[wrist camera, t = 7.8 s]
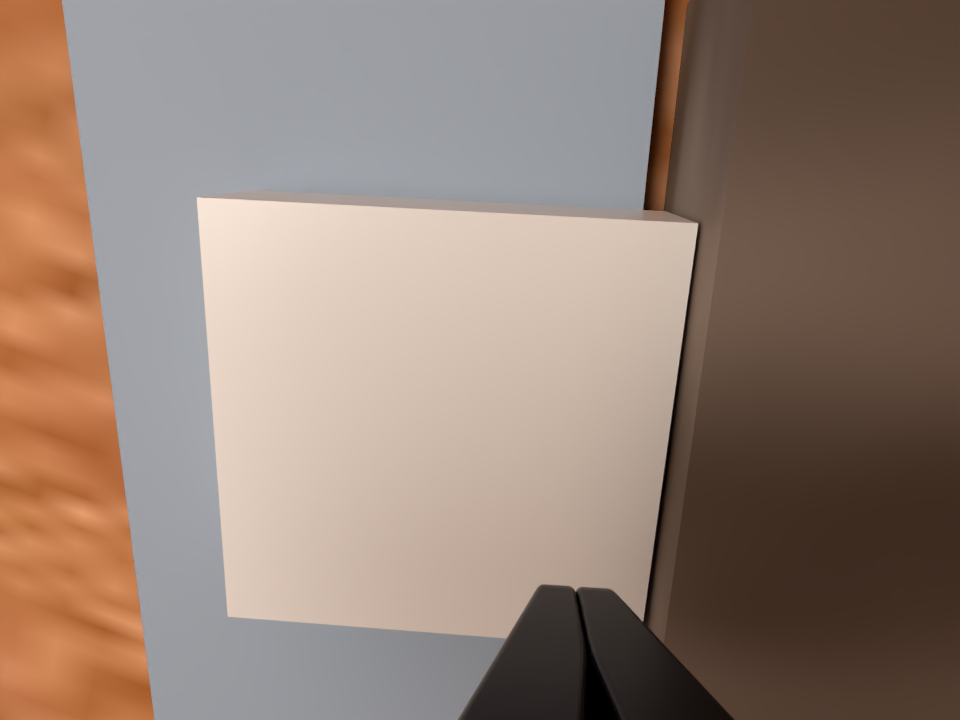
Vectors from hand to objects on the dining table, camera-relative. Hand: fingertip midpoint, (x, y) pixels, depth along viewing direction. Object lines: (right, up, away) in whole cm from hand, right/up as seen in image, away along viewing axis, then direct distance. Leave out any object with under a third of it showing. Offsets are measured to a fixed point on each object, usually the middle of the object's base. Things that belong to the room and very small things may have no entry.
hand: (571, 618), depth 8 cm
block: (-2, +2, +6) cm, 7 cm away
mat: (-4, +2, +7) cm, 8 cm away
